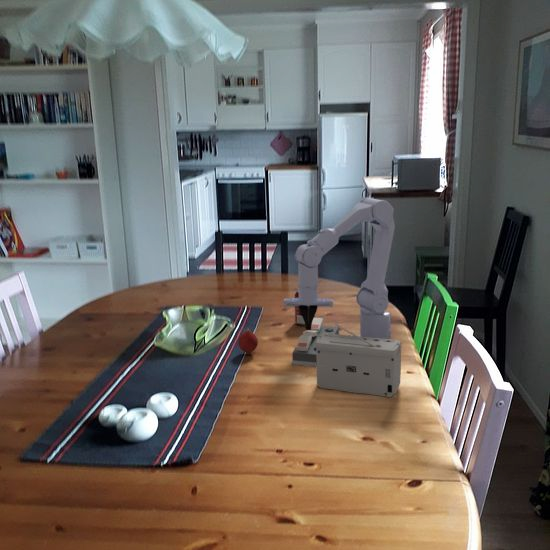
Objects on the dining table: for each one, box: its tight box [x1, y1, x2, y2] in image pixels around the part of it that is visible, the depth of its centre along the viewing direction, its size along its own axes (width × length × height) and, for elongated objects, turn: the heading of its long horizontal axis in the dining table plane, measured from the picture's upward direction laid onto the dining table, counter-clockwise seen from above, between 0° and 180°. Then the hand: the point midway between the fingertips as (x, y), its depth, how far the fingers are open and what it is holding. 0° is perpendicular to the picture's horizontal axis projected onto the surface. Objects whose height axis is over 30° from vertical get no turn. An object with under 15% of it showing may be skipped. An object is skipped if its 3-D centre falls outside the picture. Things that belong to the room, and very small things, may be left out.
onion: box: [237, 328, 259, 355], centre depth 166 cm, size 6×6×8 cm
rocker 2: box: [311, 317, 324, 332], centre depth 177 cm, size 3×6×1 cm, turn 163°
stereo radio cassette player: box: [316, 314, 402, 398], centre depth 141 cm, size 21×8×20 cm, turn 70°
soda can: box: [294, 288, 316, 327], centre depth 191 cm, size 7×7×12 cm
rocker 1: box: [295, 334, 312, 351], centre depth 162 cm, size 3×6×1 cm, turn 163°
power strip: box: [290, 324, 341, 368], centre depth 170 cm, size 9×27×4 cm, turn 163°
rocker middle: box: [302, 330, 318, 337], centre depth 170 cm, size 3×6×1 cm, turn 163°
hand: (308, 329), depth 167 cm, fingers closed
